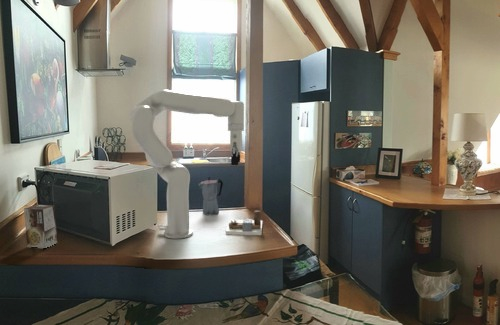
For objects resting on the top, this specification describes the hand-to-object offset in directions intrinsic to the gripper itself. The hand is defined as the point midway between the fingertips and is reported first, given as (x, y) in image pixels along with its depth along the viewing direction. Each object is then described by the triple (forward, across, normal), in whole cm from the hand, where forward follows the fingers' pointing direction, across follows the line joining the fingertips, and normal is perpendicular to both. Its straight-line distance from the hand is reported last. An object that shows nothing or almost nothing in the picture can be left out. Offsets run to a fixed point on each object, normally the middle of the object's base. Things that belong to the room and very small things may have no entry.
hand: (235, 163), depth 164 cm
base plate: (+30, -5, -5) cm, 31 cm away
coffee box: (+31, -34, +75) cm, 88 cm away
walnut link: (+28, -9, -5) cm, 30 cm away
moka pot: (+31, +22, +16) cm, 41 cm away
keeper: (+29, -10, -4) cm, 31 cm away
